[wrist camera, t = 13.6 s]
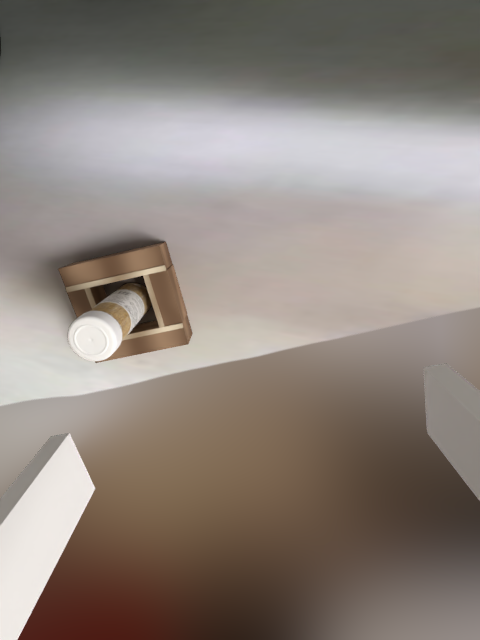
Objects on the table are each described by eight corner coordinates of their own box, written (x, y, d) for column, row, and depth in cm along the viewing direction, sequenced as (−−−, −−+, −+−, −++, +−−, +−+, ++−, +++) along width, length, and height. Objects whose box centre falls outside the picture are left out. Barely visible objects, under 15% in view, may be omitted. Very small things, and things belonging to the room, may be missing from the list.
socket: (105, 351, 47) (94, 363, 43) (72, 263, 43) (57, 269, 39) (192, 333, 46) (188, 344, 42) (166, 241, 42) (159, 245, 38)
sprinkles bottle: (115, 311, 45) (63, 357, 32) (119, 277, 43) (66, 311, 31) (150, 319, 45) (112, 367, 33) (155, 286, 44) (118, 323, 31)
